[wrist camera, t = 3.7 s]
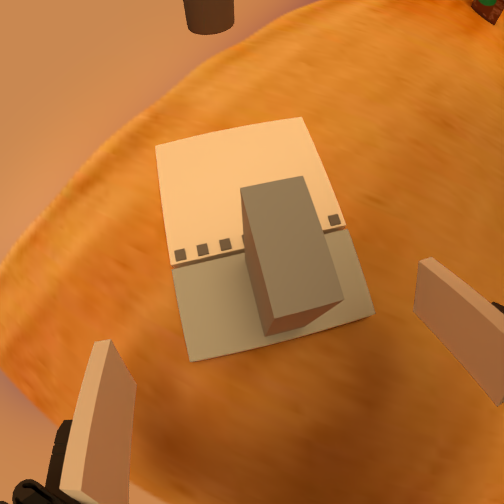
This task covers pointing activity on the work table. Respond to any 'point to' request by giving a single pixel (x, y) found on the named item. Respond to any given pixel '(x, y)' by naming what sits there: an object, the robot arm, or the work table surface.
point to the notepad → (233, 185)
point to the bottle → (209, 15)
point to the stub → (272, 278)
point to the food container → (489, 9)
